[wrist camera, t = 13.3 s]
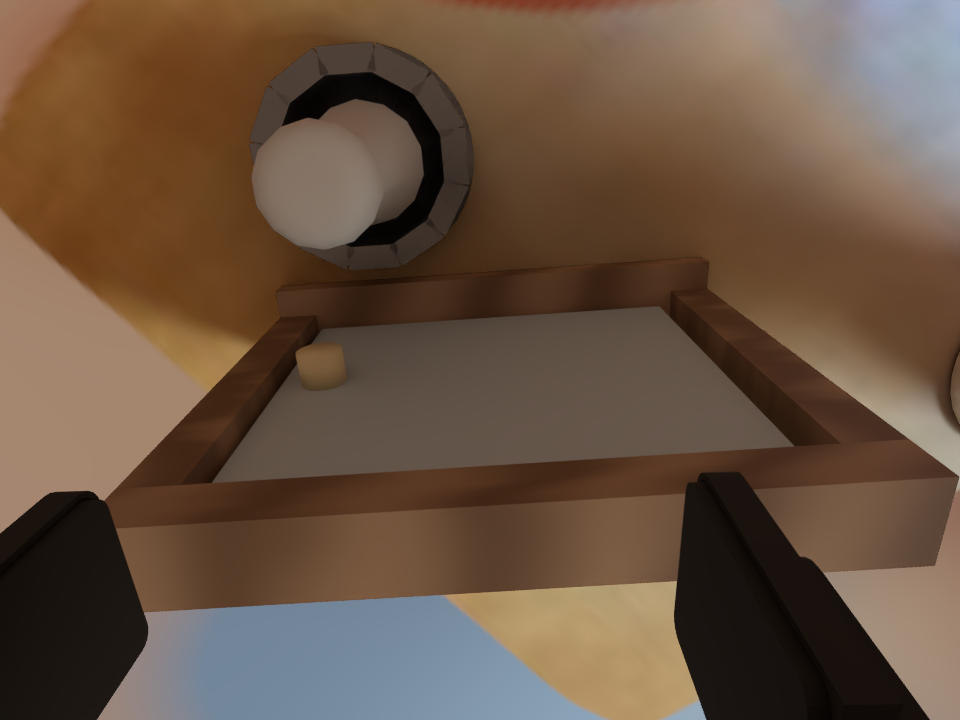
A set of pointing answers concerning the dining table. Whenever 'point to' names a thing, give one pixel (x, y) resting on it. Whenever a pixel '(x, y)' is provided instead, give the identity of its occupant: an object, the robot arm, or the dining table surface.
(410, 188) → the salt shaker
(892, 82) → the dining table surface
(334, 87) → the socket
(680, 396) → the door
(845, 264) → the dining table surface
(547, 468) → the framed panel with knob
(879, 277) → the dining table surface
